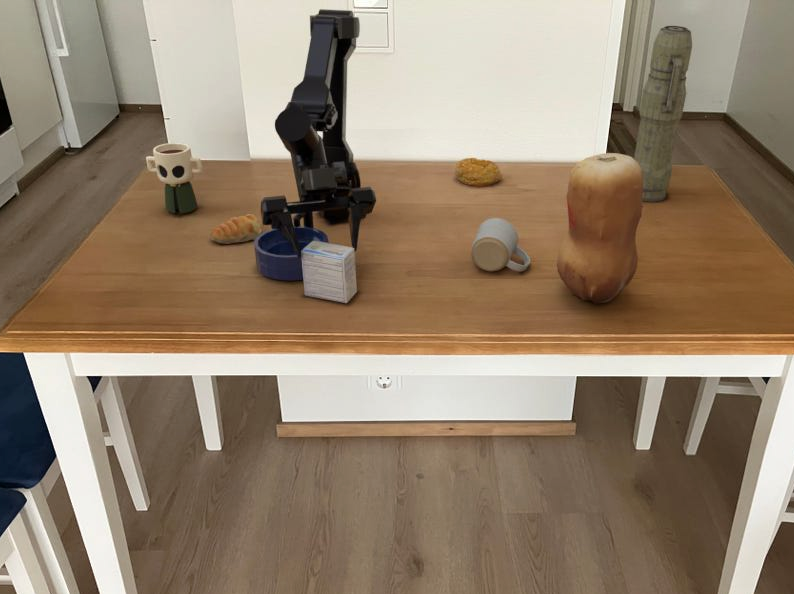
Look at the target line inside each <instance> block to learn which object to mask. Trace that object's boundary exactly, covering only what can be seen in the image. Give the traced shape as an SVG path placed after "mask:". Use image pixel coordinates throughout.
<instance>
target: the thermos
mask: <svg viewBox="0 0 794 594" xmlns="http://www.w3.org/2000/svg"><path fill="white" fill-rule="evenodd" d="M652 47H653V48H652V52H651V58H650V64H649V68H650V69H649V73H648V77H647V79H646V82H645V83H644V85H643V88H642V95H641V100H640V107H639V117H640V121H639V128H638V132H637V139H636V146H635V150H634V156H633V158H634V159H635V160H636V161H637V162H638V164H639V165H640V167H641V170H642V175H643V199H642V202H652V203H653V202H661V201H663V200H665V199H666V197H667V192H668V188H669V186H670V180H671V176H672V170H673V166H672V157H673V153H674V147H675V143H676V138H677V131H678V126H679V122H681V121H680V120H681V119H682V118H683V114H684V113H683V112H684V108H685V103H686V97H687V87H686V86H687V85H686V81H687V71H688V70H689V65H690V60H691V55H692V50H693V36H692V31H691V30H689V28H687V27H685V26H681V25H665V26H664V27H661V28H660V29H659V31H658V33H657V35H656V36H655V38H654V42H653V46H652Z"/></svg>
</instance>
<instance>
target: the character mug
mask: <svg viewBox="0 0 794 594" xmlns="http://www.w3.org/2000/svg"><path fill="white" fill-rule="evenodd" d="M152 154H153V156H151V155H150V156H149V155H148V156H146V157H145V161H146V166H147V171H148V172H149V173H152V174H153V173H155V174H156V175H157V178H158V180H159V181H160V182H161V183H162V184H163V183H164V184H165V185H164V203H165V204H164V205H165V210H166V211H167V212H168V213H170V214H171V213H172V214H176V210H178V211H179V214H188V213H191V212H193V211H195V210H196V208H197V207H198V202H197V198H196V194H195V191H194V188H193V185H192V183H191V181H192V180H193V179H194V177H195V174H199V175H200V174H202V173H203V171H204V170H203V164H202V159H201V158H200V157H195V156H194V157H193V156H192V150H191V146H190V145H188V144H187V143H183V142H168V143H161V144H159V145H156V146H155V147H153V150H152ZM152 162H154V164H155V165H154V166H155V167H153V163H152ZM194 163H196V167H197V168H194Z"/></svg>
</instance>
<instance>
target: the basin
mask: <svg viewBox="0 0 794 594" xmlns="http://www.w3.org/2000/svg"><path fill="white" fill-rule="evenodd" d="M294 229H295V232H296V235H297V239H298V242H299V245H300V249H301V251H302V250H303V249H304V248H305V247H306V246H307V245H308V244H310V243H311V242H312V241H318V242H325V243H330V242H329V237H328V235H327V234H326V233H325V232H324V231H322V230H320V229H318V228H316V227H314V228H311V227H306V226H304V225H301V226H300V227H294ZM253 246H254V247H253V249H254V256H255V264H256V269H257V270H258V272H259V273H260V274H261V275H262V276H265V277H267V278H269V279H274V280H277V281H278V280H279V281H290V282H291V281H301V280H304V278H303V268H302V257H301V258H298V256H297V255H296V253H295V252H294V250H293V249H292V247H291V245H290V244H289V242H288V241H287V240H286V238H285V237H284V236H283V235H282V234H281V233H280V231H279V230H278V229H272V228H271V229H268V230H266V231H262V234H260V235H259V236H257V238H256V239H254V240H253Z"/></svg>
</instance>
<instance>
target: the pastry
mask: <svg viewBox="0 0 794 594" xmlns="http://www.w3.org/2000/svg"><path fill="white" fill-rule="evenodd" d="M262 233H263V229H262V227H261V224H260V222H259V220H258V218H257V217H256V215H254V214H253V213H251V214H250V213H246V214H245V215H239V216H234V217H231V218H228V220H226V221H225V222H223V223H220V224H218V225H216V227H214V228H213V229H212V230H211V232H210V239H211V240H212V241H214V242H216V243H219V244H223V245H225V244H226V245H229V244H237V243H245V242H249V241H250V240H253V241H255V239H256V238H257V236H259V235H260V234H262Z"/></svg>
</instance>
